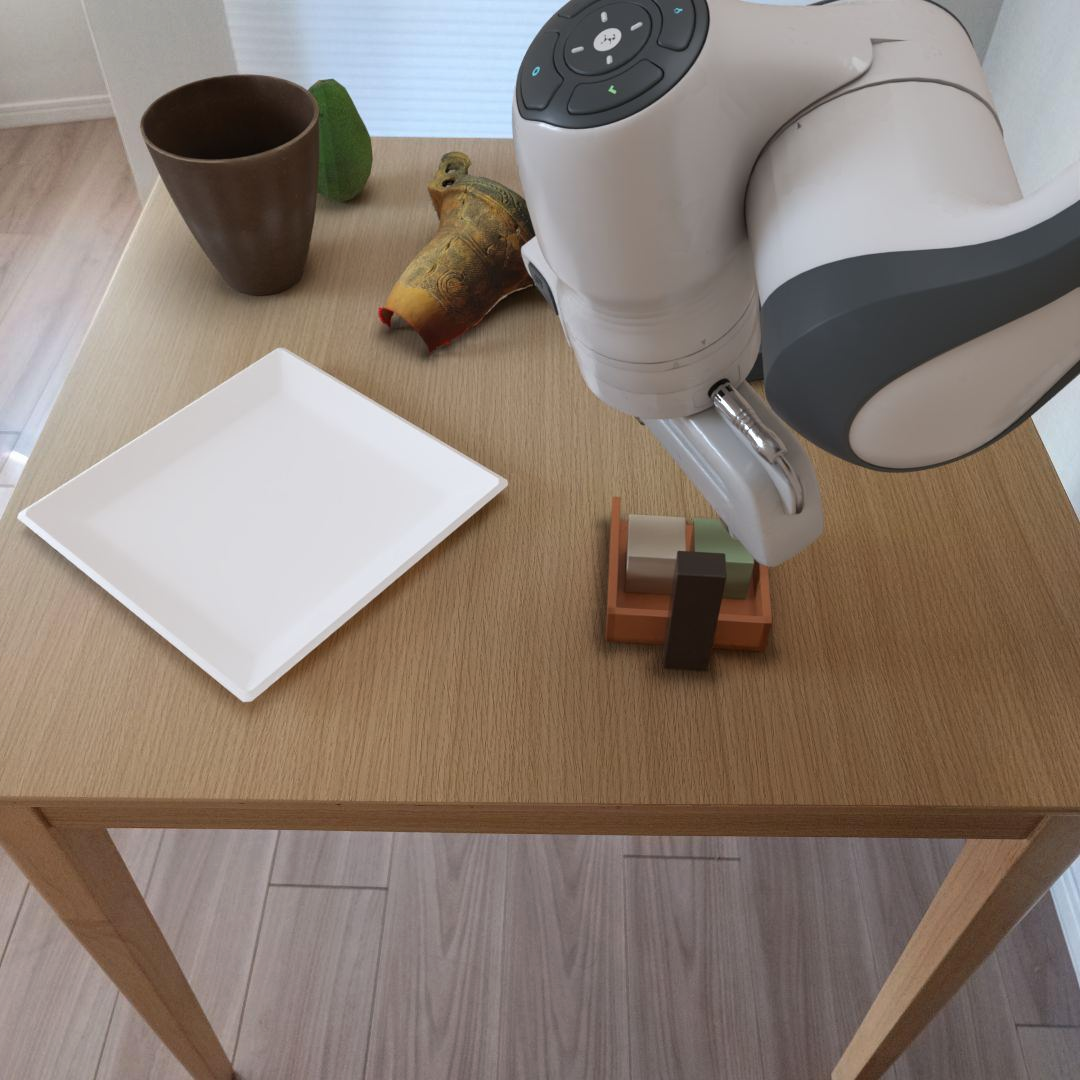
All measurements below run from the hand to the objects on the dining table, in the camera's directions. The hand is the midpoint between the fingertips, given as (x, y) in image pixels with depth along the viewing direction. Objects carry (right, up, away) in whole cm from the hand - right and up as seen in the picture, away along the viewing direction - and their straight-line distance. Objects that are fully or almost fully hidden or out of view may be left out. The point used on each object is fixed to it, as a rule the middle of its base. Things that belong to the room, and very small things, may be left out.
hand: (692, 466), depth 63 cm
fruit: (-30, +31, +51) cm, 67 cm away
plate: (-29, -3, +21) cm, 36 cm away
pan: (+2, -8, +16) cm, 18 cm away
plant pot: (-35, +21, +42) cm, 59 cm away
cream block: (-1, -7, +16) cm, 18 cm away
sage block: (+4, -7, +16) cm, 18 cm away
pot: (-15, +19, +40) cm, 47 cm away
